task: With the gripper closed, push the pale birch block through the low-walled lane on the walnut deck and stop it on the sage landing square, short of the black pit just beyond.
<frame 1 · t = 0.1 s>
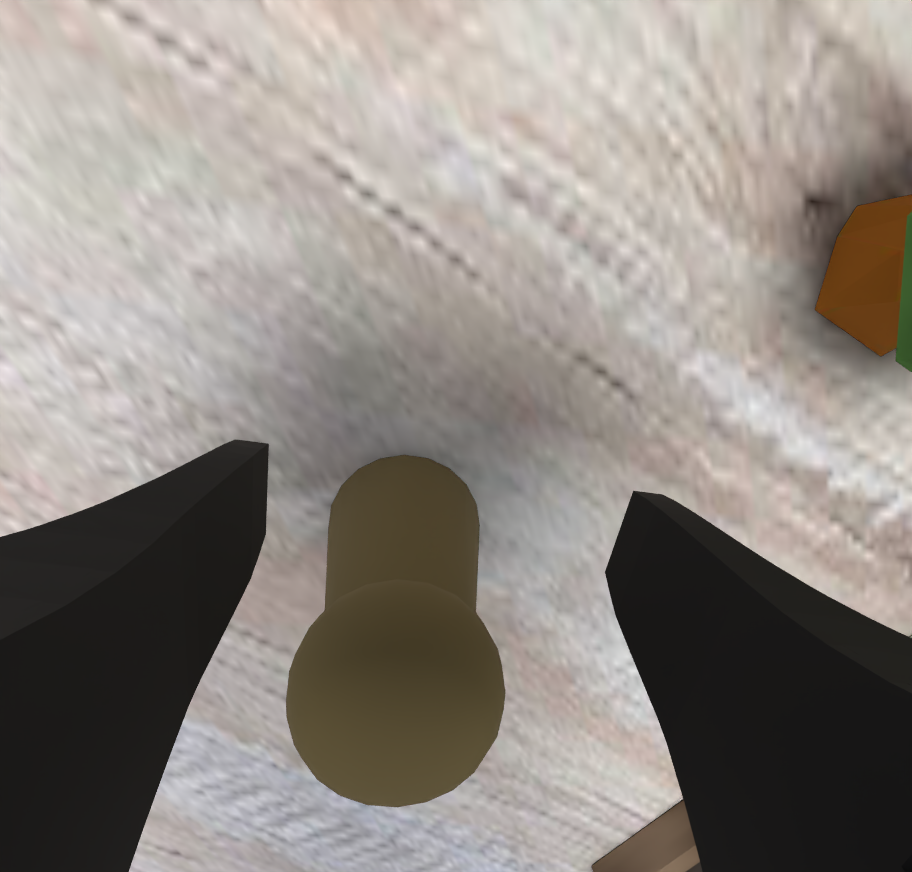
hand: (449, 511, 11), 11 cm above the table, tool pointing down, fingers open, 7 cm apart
cork: (404, 524, 23), on the table
decorative tree: (879, 277, 21), on the table
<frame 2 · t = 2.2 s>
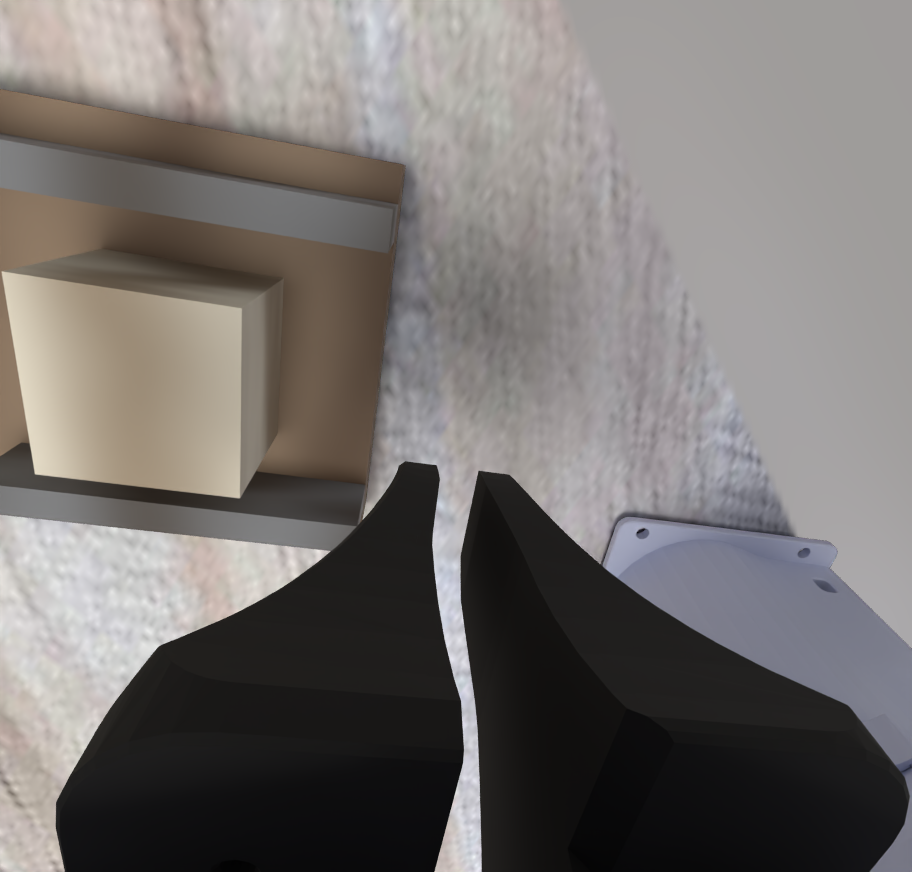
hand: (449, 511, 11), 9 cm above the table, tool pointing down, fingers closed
birch block: (196, 348, 17), point 2 cm above the table, touching walnut deck
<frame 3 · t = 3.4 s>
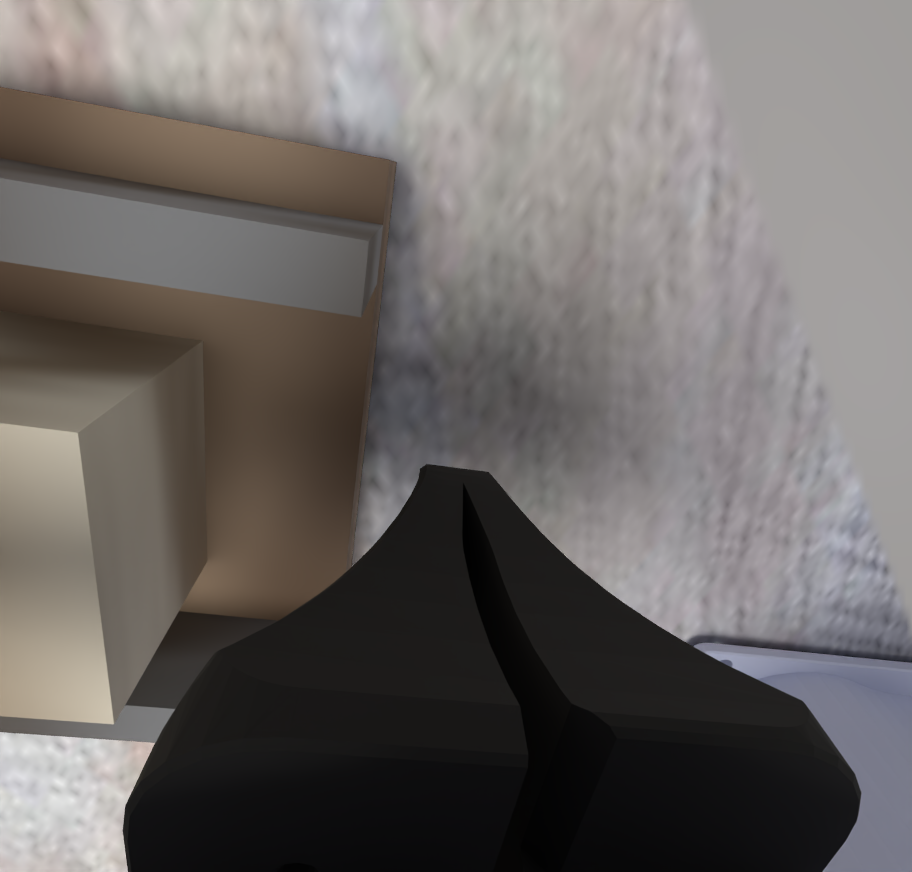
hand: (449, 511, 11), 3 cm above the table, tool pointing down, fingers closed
birch block: (72, 444, 11), point 2 cm above the table, touching walnut deck
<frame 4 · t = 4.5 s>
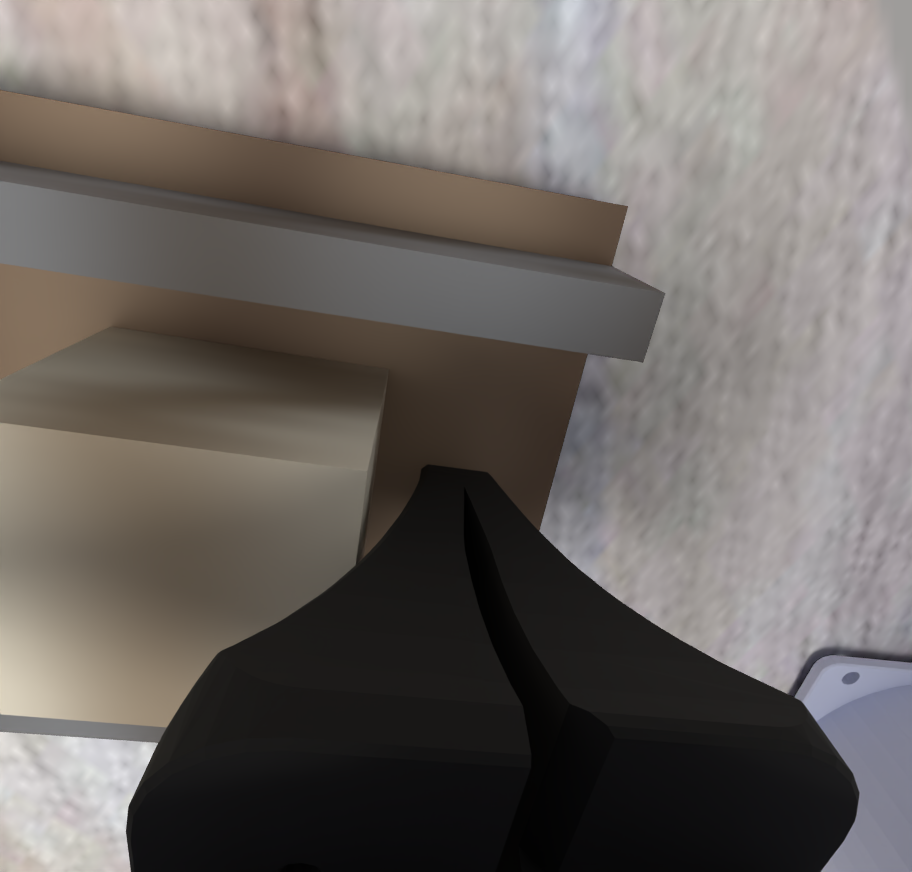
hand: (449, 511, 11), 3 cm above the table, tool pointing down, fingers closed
birch block: (250, 466, 11), point 2 cm above the table, touching gripper
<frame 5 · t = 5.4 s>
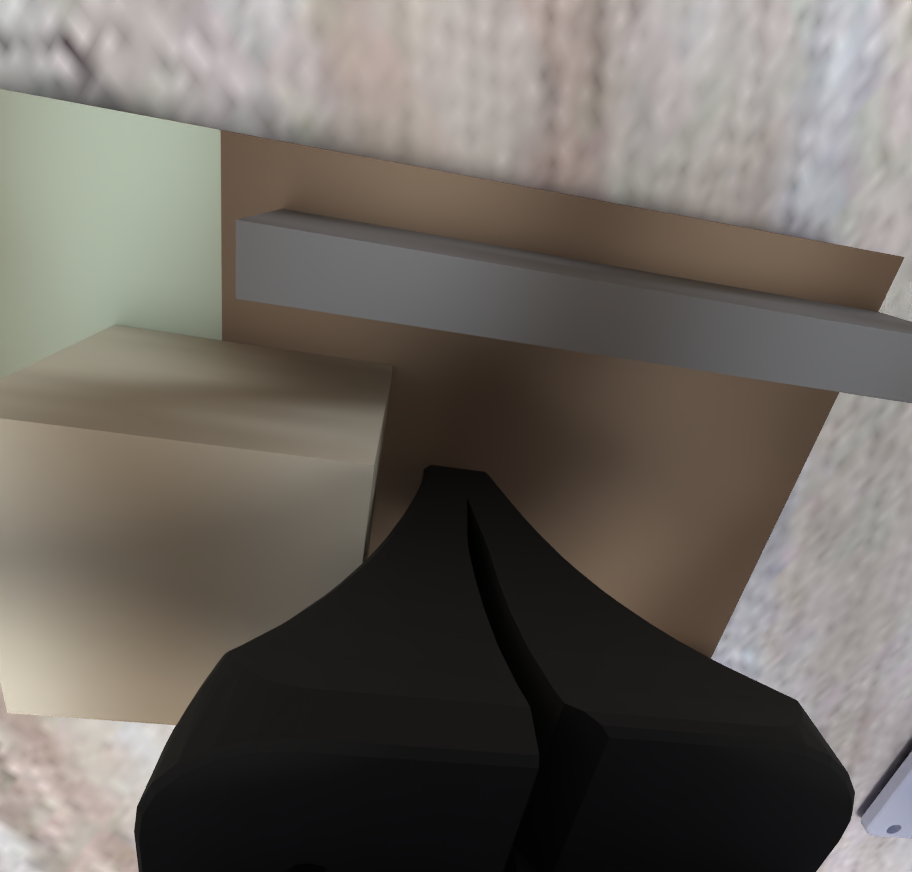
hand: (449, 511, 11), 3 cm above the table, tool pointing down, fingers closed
birch block: (254, 464, 11), point 2 cm above the table, touching gripper
walnut deck: (70, 399, 13), on the table
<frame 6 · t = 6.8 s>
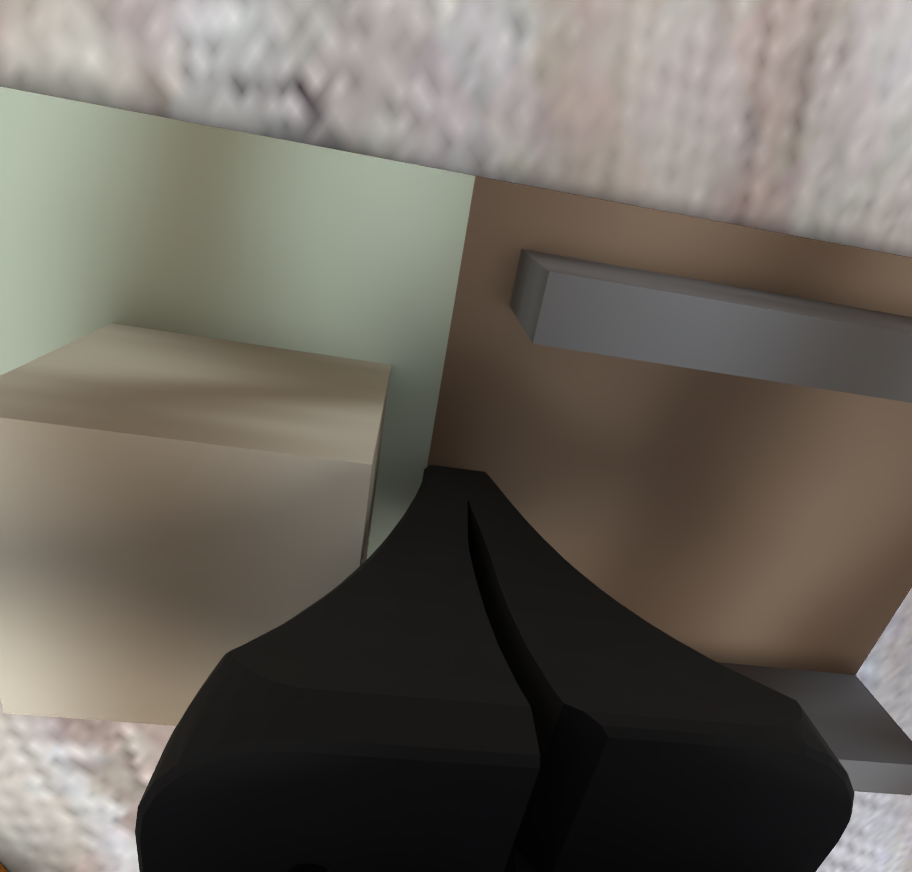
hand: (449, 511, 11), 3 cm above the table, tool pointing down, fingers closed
birch block: (252, 463, 11), point 2 cm above the table, touching gripper, walnut deck
walnut deck: (254, 423, 13), on the table
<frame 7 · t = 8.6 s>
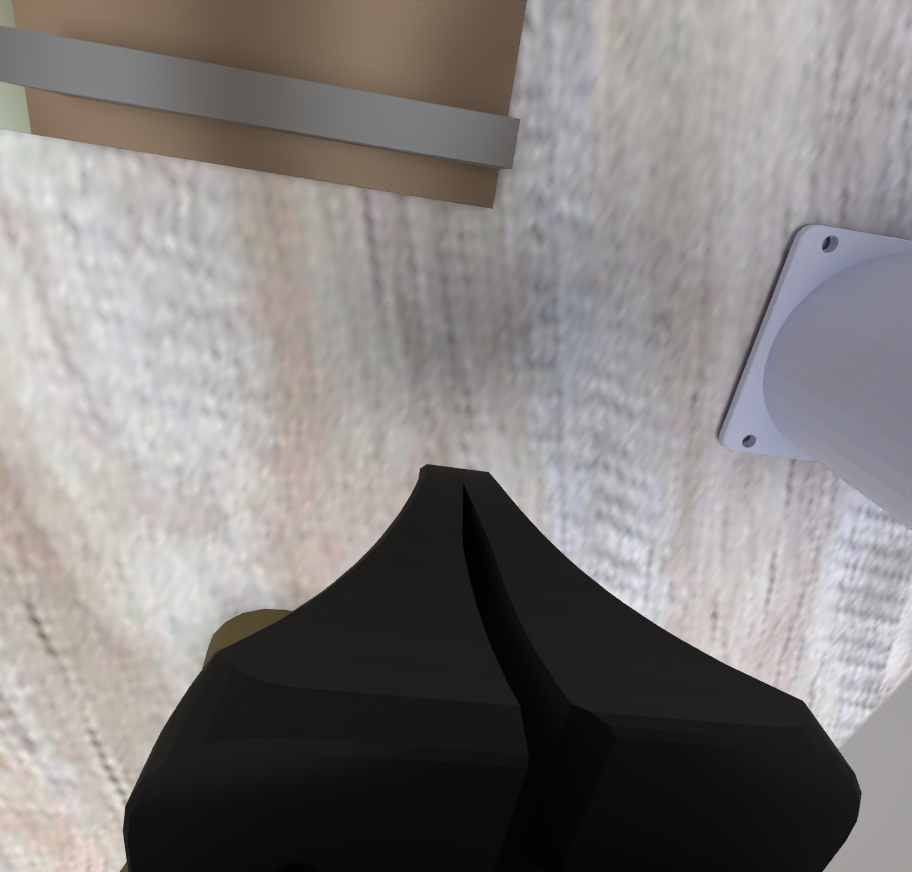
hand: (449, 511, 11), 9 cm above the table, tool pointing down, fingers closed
cork: (278, 658, 25), on the table
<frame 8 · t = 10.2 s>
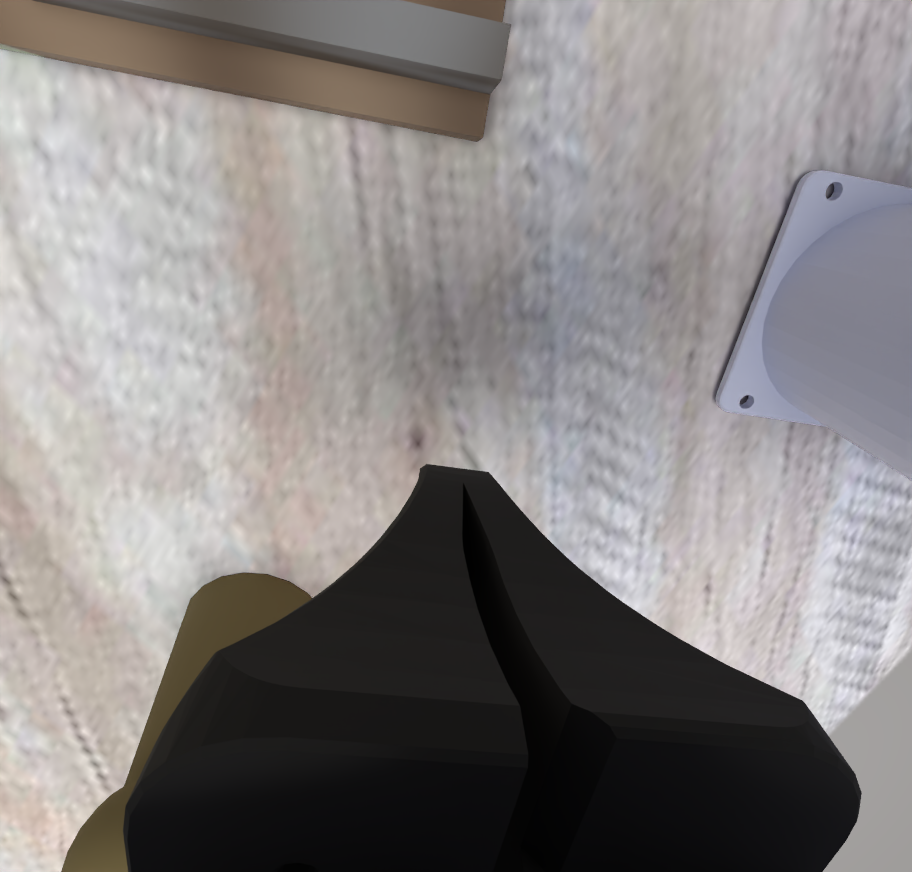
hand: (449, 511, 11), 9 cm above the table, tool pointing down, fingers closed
cork: (258, 625, 24), on the table
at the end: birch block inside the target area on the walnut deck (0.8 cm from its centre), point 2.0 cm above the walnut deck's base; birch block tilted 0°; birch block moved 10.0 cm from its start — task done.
